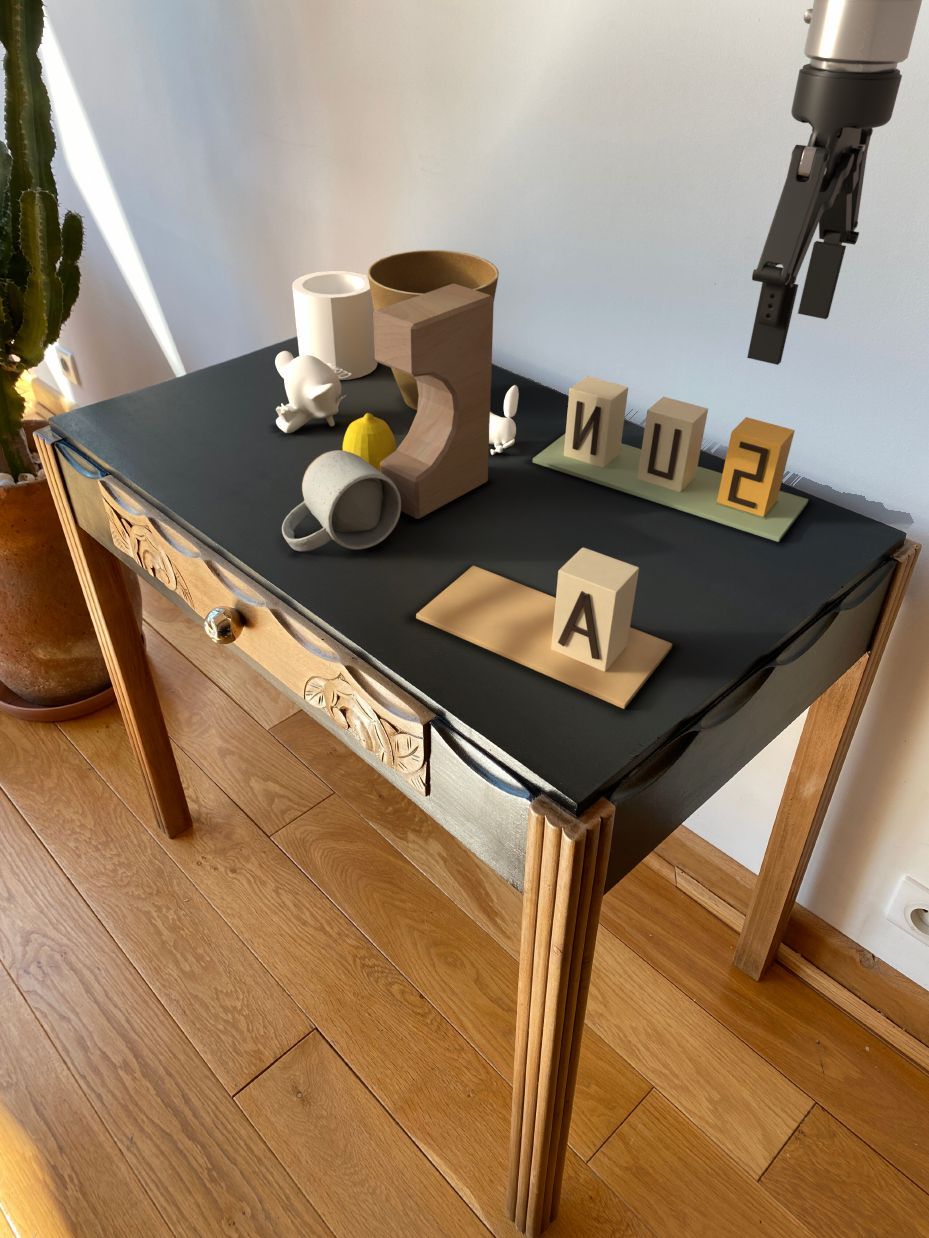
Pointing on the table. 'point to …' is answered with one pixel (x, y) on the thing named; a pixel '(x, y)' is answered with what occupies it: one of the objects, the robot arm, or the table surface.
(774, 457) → the orange block
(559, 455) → the board
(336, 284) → the mug
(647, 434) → the U tile
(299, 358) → the figurine
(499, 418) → the rabbit figurine
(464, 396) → the decorative block
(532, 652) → the front word board
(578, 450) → the wooden letter block
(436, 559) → the table surface
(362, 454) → the fruit
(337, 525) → the ceramic mug
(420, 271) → the plant pot
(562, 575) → the tile
